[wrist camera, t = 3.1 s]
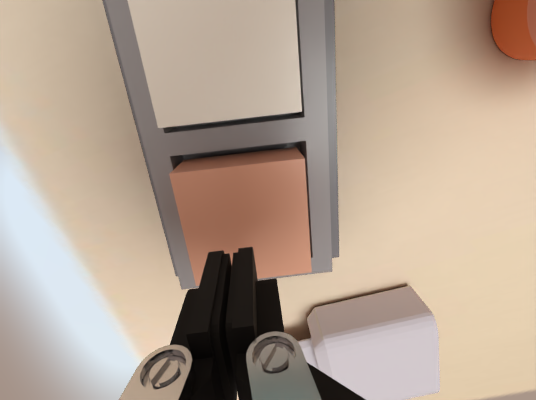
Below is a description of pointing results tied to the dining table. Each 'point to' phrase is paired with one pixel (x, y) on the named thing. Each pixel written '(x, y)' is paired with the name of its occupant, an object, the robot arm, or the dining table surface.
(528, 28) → the cup with straw
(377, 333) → the charger
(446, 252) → the dining table surface
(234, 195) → the terracotta key
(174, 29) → the cream key
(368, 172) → the dining table surface
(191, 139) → the keypad
